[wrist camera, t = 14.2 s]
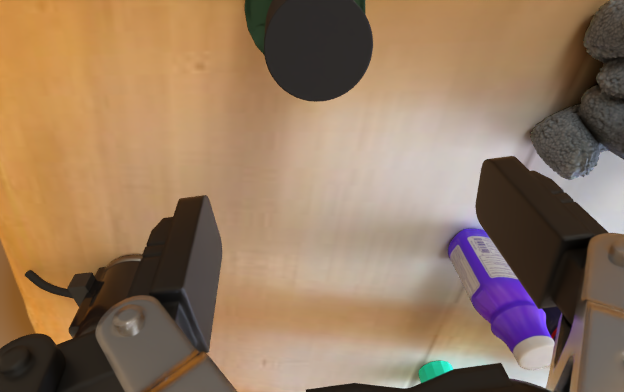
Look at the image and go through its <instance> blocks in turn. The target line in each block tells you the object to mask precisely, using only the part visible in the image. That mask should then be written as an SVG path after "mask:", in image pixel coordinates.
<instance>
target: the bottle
mask: <svg viewBox="0 0 624 392" xmlns="http://www.w3.org/2000/svg"><path fill="white" fill-rule="evenodd" d="M448 255H449V258H450V260H451V262H452V264H453V266H454V268H455V270H456V272H457V274H458V276H459V278H460V280H461V282H462V284H463V286H464V288H465V290H466V292H467V294H468V296H469V298H470V300H471V302H472V304H473V306H474V308H475V309H476V310H477V312H478V313H479V314H480V315H481V316H482V317H483V318H485V319H486V320H487V321H488V322H489V323H491V330H492V332H493V334H494V335H496V336H497V337H498V338H500V339H501V340H503V341H504V342H505V343H506V344H507V346H508V347H509V349H510V350H511V352H512V353H513V355H514V357H515V358H516V360H517V362H518V364H519V365H520V367H522V368H524V369H527V370H536V369H541V368H544V367H547V366H549V365H551V360H552V355H553V349H554V343H555V342H554V340H553V339H552V338H551V336H550V334H549V332H548V329H547V326H546V314H545V312H544V311H543V310H542V309H538V308H537V306H536V305H535V303H534V302H533V300H532V299H531V297H530V296H529V294H528V293H527V292H526V290H525V289H524V287H523V286H522V284H521V283H520V281H519V280H518V278H517V277H516V275H515V274H514V273H513V271H512V270H511V268H510V267H509V265H508V264H507V262H506V261H505V259H504V258H503V256H502V255H501V254H500V252H499V251H498V249H497V248H496V246H495V245H494V243H493V242H492V240H491V239H490V238H489V236H488V235H487V233H486V232H485V231H484V230H480V229H464V230H462V231H460V232H459V233H458V234H457V235H456V236H455V237H454V238H453V240H452V241H451V242H450V244H449V247H448Z"/></svg>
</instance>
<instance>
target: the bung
mask: <svg viewBox="0 0 624 392" xmlns="http://www.w3.org/2000/svg"><path fill="white" fill-rule="evenodd" d="M372 50H373V36H372V31H371V27H370V24H369V21H368V19H367V17H366V15H365V14H364V12H363V11H362V9H361V8H360V7H359V6H358V5H357V4H356V2H355V1H354V0H272V2H271V4H270V7H269V9H268V12H267V17H266V24H265V36H264V56H265V60H266V64H267V67H268V69H269V71H270V73H271V75H272V77H273V78H274V80H275V81H276V82H277V84H278V85H279V86H280V87H281V88H282V89H284V90H285V91H286V92H288V93H289V94H291V95H293V96H295V97H297V98H300V99H303V100H307V101H327V100H331V99H334V98H337V97H339V96H341V95H343V94H345V93H346V92H348V91H349V90H351V89H352V88H353V87H354V86H355V85H356V84H357V83H358V82H359V81H360V79H361V78H362V77H363V75H364V74H365V72H366V70H367V68H368V66H369V63H370V60H371V56H372Z"/></svg>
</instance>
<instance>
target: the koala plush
mask: <svg viewBox="0 0 624 392" xmlns="http://www.w3.org/2000/svg"><path fill="white" fill-rule="evenodd" d="M583 41H584V46H585V47H586V48H587V50H586V52H587V53H589V55H591V56H592V57H593V58H595V59H596V60H599V61H600V62H602V63H603V68H600V72H599V73H598V75H597V76H596V80H597V83H598V84H599V85H596V86H594V87H591V88H589V89H588V90H586V92H585V93H584V95H583V96H582V99H581V105H575V106H573V107H568V108H566V109H564V110H562V111H558V112H557V113H555V114H553V115H550V116H549V117H547V118H545V119H544V120H543V122H541V123H539V124H537V125H536V127H535V128H533V132H531V134H532V136H531V138H532V142H533V145H534V147H535V149H536V151H537V154H539V156H540V157H541V158H542V159H543V160H544V161H545V163H546V164H547V165H549V166H550V168H552V169H553V171H555V172H557V174H559V175H560V176H561V177H563V178H565V179H568V180H572V179H574V178H576V177H579V176H583V177H584V176H585V174H586V175H588V174H589V172H590V171H592V169H593V167H594V166H596V165H597V161H598V159H599V157H598V156H599V154H600V152H603V151H607V150H608V151H611V152H613V153H614V154H616V155H617V156H619V157H621V158H623V159H624V0H610V1H608V2H607V3H606V4H604V5H603V6H601V7H600V8H599V11H597V12H596V13H595V15H594V16H593V18H592V20H591V22H590V26H589V27H588V29H587V31H586V33H585V37H584V39H583Z"/></svg>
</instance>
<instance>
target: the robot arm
mask: <svg viewBox="0 0 624 392" xmlns="http://www.w3.org/2000/svg"><path fill="white" fill-rule="evenodd" d="M476 214H477V218H478V221H479V223H480V224H481V226H482V227H483V229H484V230H485V232H486V233H487V235H488V236H489V238H490V239H491V240H492V242H493V243H494V245H495V246H496V248H497V249H498V251H499V252H500V254H501V255H502V256H503V258H504V259H505V261H506V262H507V264H508V265H509V267H510V268H511V270H512V271H513V273H514V274H515V275H516V277H517V278H518V280H519V281H520V283H521V284H522V286H523V287H524V289H525V290H526V292H527V293H528V294H529V296H530V297H531V299H532V300H533V302H534V303H535V305H536V306H537V308H538V309H543V308H550V307H558V308H559V310H560V311H561V312H562V313H561V316H560V318H559V321H558V326H557V332H556V338H555V343H554V349H553V355H552V360H551V366H550V372H549V377H548V382H547V385H546V389H545V388H543V387H540V386H537V385H534V384H531V383H528V382H524V381H520V380H515V379H509V377H508V375H507V373H506V372H505V370H504V368H503V366H502V364H501V363H497V364H490V365H482V366H475V367H468V368H460V369H453V370H451V371H449V372H446V373H444V374H442V375H439V376H437V377H435V378H432V379H430V380H428V381H425V382H423V383H421V384H418V385H416V386H414V387H411V388H406V389H402V388H393V387H384V386H375V385H367V384H358V383H351V384H344V385H336V386H329V387H322V388H315V389H307V390H306V392H624V234H617V233H608V232H607V231H606V230H605V229H604V228H603V227H602V226H601V225H600V224H599V223H598V222H597V221H596V220H595V219H593V218H592V217H591V216H590V215H589V214H588V213H587V212H586V211H585V210H584V209H583V208H582V207H581V206H580V205H578V204H577V203H576V202H573V199H572V198H571V197H570V196H569V195H568V194H567V193H564V192H563V190H562V189H561V188H560V187H559V186H558V185H557V184H556V183H555V182H554V181H553V180H552V179H550V178H548V177H546V176H544V175H542V174H540V173H538V172H536V171H529V170H528V169H527V168H526V167H525V166H524V165H523V164H522V163H521V162H520V161H519V160H518V159H517V158H516V157H514V156H509V157H501V158H494V159H487V160H485V161H484V162H483V164H482V168H481V174H480V180H479V186H478V192H477V198H476ZM221 261H222V243H221V237H220V234H219V230H218V227H217V224H216V220H215V217H214V214H213V210H212V207H211V204H210V201H209V198H208V197H207V196H206V195H204V196H196V197H188V198H181V199H179V201H178V204H177V207H176V210H175V213H174V216H173V217H169V218H163V219H162V220H161V221H160V222H159V223H158V225H157V226H156V227H155V228H154V229H153V230H152V231H151V234H150V236H149V239H148V242H147V247H145V250H144V252H143V255H126V256H122V257H119V258H117V259H115V260H113V261H112V262H110V263H109V264H108V265H107V267H102V268H99V269H98V271H97V273H96V275H95V276H94V275H93V273H83V274H75V275H74V277H73V279H72V281H71V282H70V284H69V286H68V288H67V289H64V288H61V287H57V286H54V285H52V284H50V283H48V282H46V281H44V280H43V279H41V278H40V277H39V276H38V275H37V274H36V273H34V272H33V271H32V270H29V271H27V272H26V273H25V276H26V277H27V278H28V279H29V280H30V281H32V282H33V283H34V284H35V285H37V286H38V287H40V288H41V289H43V290H45V291H48V292H50V293H53V294H57V295H61V296H65V297H70V298H74V300H75V301H76V303H77V305H78V306H79V309H78V311H77V313H76V315H75V317H74V319H73V321H72V323H71V325H70V327H69V333H70V335H71V336H72V338H73V339H71V340H68V341H65V342H63V343H60V344H58V345H56V344H55V343H54V341H53V340H52V339H51V338H50V337H49V336H47V335H44V334H30V335H26V336H23V337H20V338H18V339H16V340H14V341H11V342H10V343H8V344H7V345H5V346H3V347H2V348H1V349H0V392H237V391H236V389H235V388H234V387H233V386H232V384H231V383H230V382H229V381H228V379H227V378H226V377H225V376H224V374H223V373H222V372H221V371H220V369H219V368H218V367H217V366H216V364H215V363H214V362H213V361H212V359H211V358H210V357H209V356H208V355H207V354H206V353H208V352H209V346H210V339H211V332H212V325H213V318H214V311H215V303H216V296H217V289H218V282H219V275H220V268H221Z"/></svg>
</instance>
